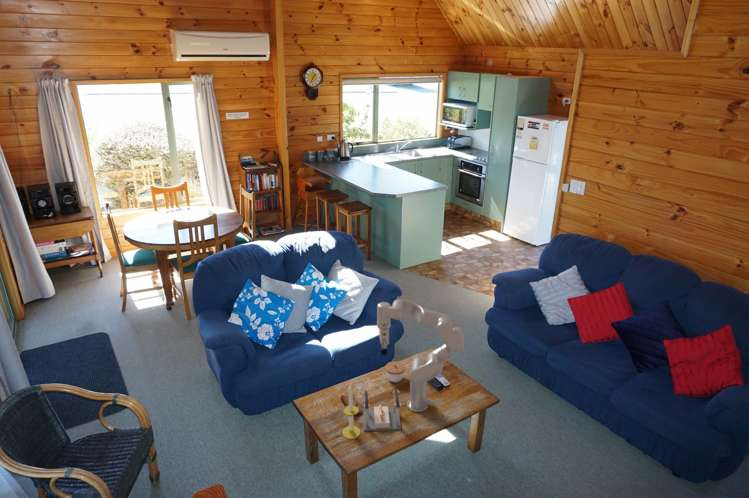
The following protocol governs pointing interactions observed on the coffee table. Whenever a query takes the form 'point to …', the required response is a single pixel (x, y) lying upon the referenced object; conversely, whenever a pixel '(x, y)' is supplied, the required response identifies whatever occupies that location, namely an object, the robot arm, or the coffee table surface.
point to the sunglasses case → (346, 402)
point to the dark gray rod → (396, 398)
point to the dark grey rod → (366, 400)
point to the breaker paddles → (380, 412)
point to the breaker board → (372, 425)
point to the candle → (351, 418)
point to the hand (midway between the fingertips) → (383, 349)
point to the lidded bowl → (395, 371)
